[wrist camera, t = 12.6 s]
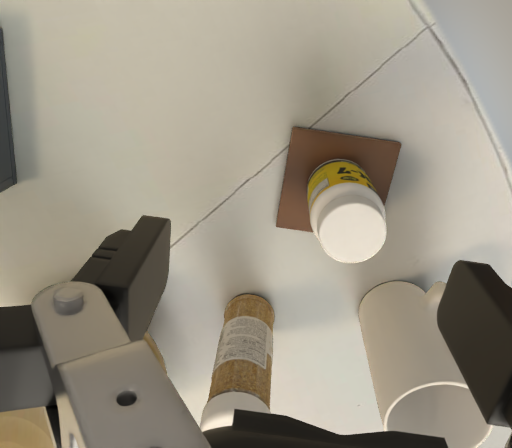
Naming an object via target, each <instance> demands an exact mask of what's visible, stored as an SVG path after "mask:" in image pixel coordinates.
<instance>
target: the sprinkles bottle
mask: <svg viewBox="0 0 512 448" xmlns="http://www.w3.org/2000/svg"><path fill="white" fill-rule="evenodd" d="M224 318H225V320H224V325H223V329H222V331H221V335H220V339H219V344H218V349H217V354H216V359H215V364H214V369H213V373H212V383H211V387H210V393H209V398H208V401H207V404H206V405H205V407H204V410H203V413H202V418H201V423H200V429H201V431H202V432H203V431H206V430H209V429H213V428H218V427H223V426H232V422H233V416H234V409H240V410H248V411H255V412H262V413H269V414H271V413H270V388H271V367H272V358H273V334H272V333H273V322H274V311H273V309H272V307H271V306H270V304H269V303H268V302H267V301H266V300H264V299H263V298H262V297H259V296H256V295H250V294H246V295H240V296H238V297H236V298H234V299H232V300H231V301H230V302H229V303H228V305H227V307H226V309H225V313H224Z"/></svg>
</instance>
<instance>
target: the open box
mask: <svg viewBox="0 0 512 448" xmlns="http://www.w3.org/2000/svg"><path fill="white" fill-rule="evenodd" d="M15 184H17V181H16V170H15V160H14V149H13V138H12V128H11V117H10V107H9V96H8V86H7V75H6V64H5V54H4V43H3V33H2V28H0V193H1V192H2V191H4V190H6V189H8V188H9V187H11V186H13V185H15Z"/></svg>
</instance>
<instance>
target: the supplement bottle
mask: <svg viewBox="0 0 512 448" xmlns="http://www.w3.org/2000/svg"><path fill="white" fill-rule="evenodd" d="M307 199H308V207H309V215H310V223H311V227H312V230H313V232H314V234H315V236H316V237H317V239H318V240H319V241H320V244H321V246H322V248H323V249H324V251H325V252H326V253H327V254H328V255H329V256H330V257H332V258H334V259H335V260H338V261H340V262H345V263H357V262H362V261H365V260H367V259H369V258H371V257H372V256H374V255H375V254H376V253H377V252H378V251H379V250H380V249H381V248H382V246H383V244H384V242H385V239H386V235H387V226H386V222H385V209H384V205H383V203H382V200H381V198H380V197H379V195H378V193H377V192H376V190H375V188H374V186H373V184H372V183H371V181H370V179H369V177H368V175H367V174H366V172H365V171H364V170H363V169H362V168H361V167H360V166H359V165H358V164H356V163H354V162H352V161H349V160H344V159H334V160H330V161H327V162H325V163H323V164H321V165H320V166H318V167H317V168H316V169H315V170H314V171H313V173H312V174H311V176H310V178H309V180H308V184H307Z"/></svg>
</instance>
